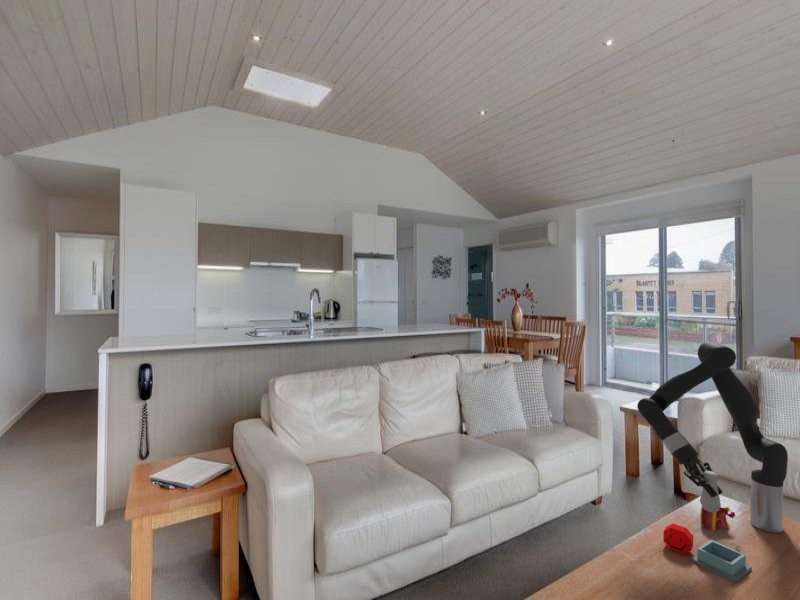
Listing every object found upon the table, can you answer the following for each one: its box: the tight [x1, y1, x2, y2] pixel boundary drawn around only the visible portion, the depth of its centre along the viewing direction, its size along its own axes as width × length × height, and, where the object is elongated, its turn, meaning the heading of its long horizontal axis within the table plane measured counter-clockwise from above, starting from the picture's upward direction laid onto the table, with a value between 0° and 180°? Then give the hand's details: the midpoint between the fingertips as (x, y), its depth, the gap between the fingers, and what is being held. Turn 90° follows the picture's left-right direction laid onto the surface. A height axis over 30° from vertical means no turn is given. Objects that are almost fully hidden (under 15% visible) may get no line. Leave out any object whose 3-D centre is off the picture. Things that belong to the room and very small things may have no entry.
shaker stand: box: [691, 539, 753, 583], centre depth 135 cm, size 12×12×4 cm
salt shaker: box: [699, 470, 722, 513], centre depth 143 cm, size 6×6×13 cm
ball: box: [662, 523, 694, 555], centre depth 144 cm, size 8×8×8 cm
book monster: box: [700, 505, 736, 532], centre depth 156 cm, size 11×9×12 cm
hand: (717, 494), depth 142 cm, fingers closed on salt shaker, 3 cm apart
